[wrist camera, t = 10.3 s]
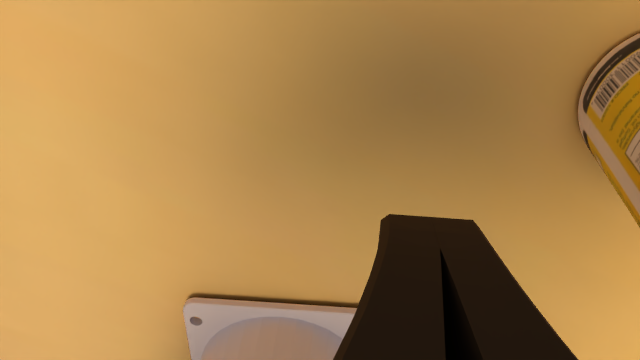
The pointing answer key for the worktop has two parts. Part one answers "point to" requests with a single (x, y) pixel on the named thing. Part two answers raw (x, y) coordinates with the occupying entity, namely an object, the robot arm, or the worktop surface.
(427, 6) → the worktop surface
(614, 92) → the supplement bottle
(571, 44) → the worktop surface
